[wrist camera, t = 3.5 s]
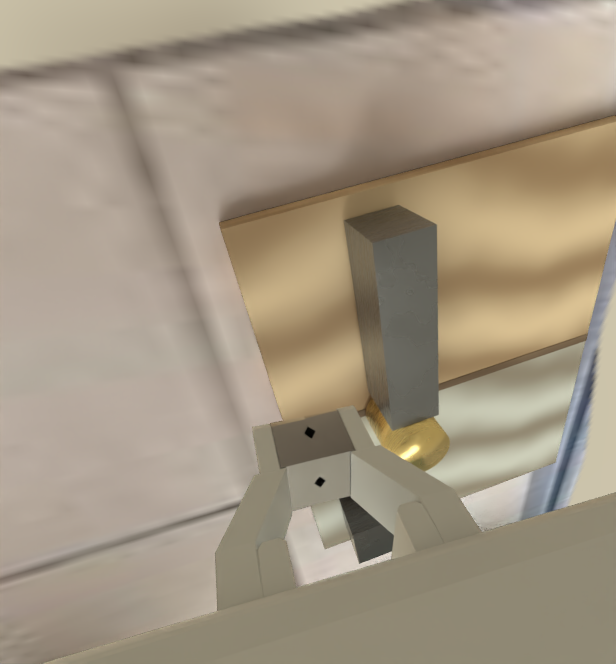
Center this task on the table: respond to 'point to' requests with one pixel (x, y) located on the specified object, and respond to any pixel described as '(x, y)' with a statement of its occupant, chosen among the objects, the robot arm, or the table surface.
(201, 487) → the table surface
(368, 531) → the block
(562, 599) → the robot arm
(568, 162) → the door board
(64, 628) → the table surface
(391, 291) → the latch bar
